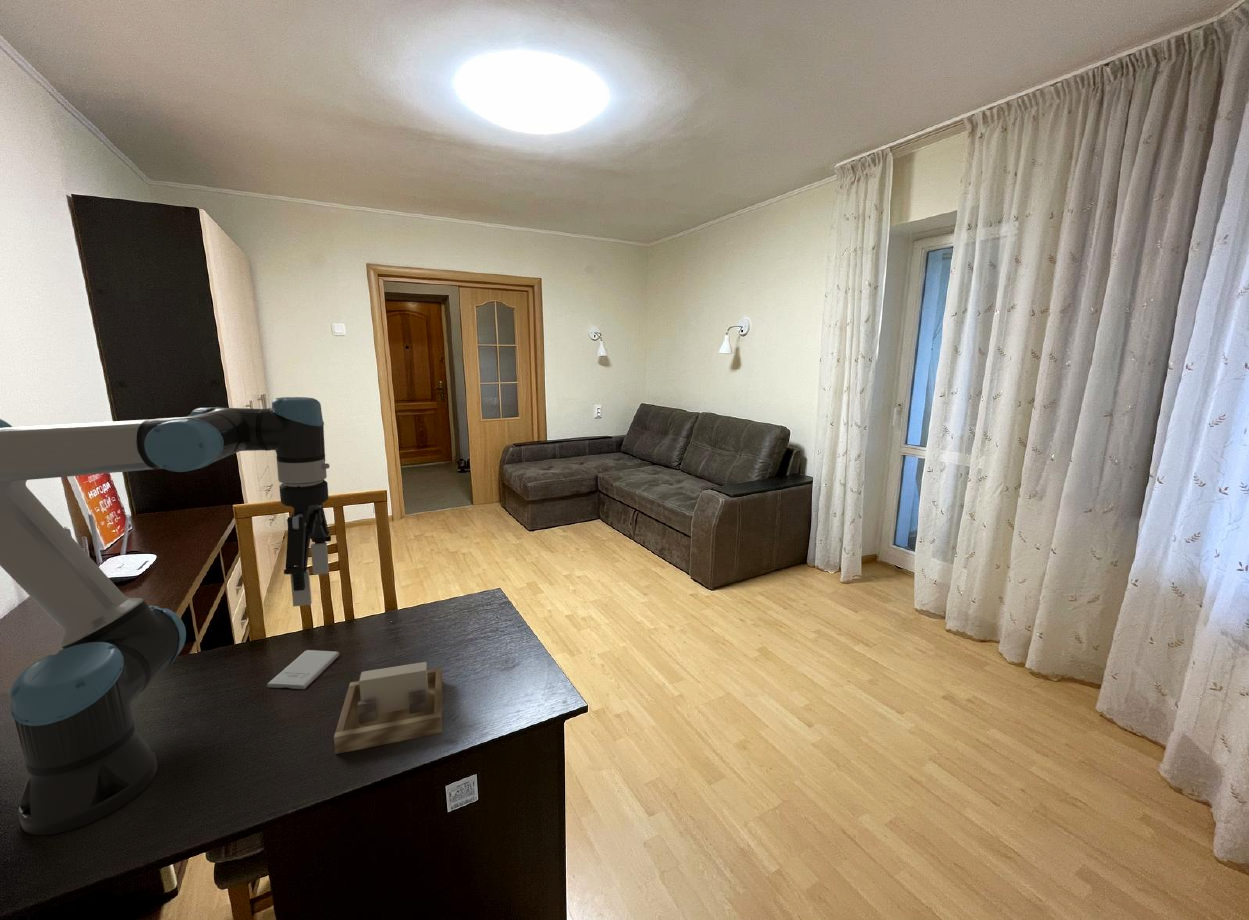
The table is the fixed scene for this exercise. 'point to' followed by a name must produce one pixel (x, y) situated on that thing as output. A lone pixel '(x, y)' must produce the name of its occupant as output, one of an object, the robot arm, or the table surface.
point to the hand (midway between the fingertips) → (312, 588)
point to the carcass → (389, 718)
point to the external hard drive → (304, 669)
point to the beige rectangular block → (393, 686)
